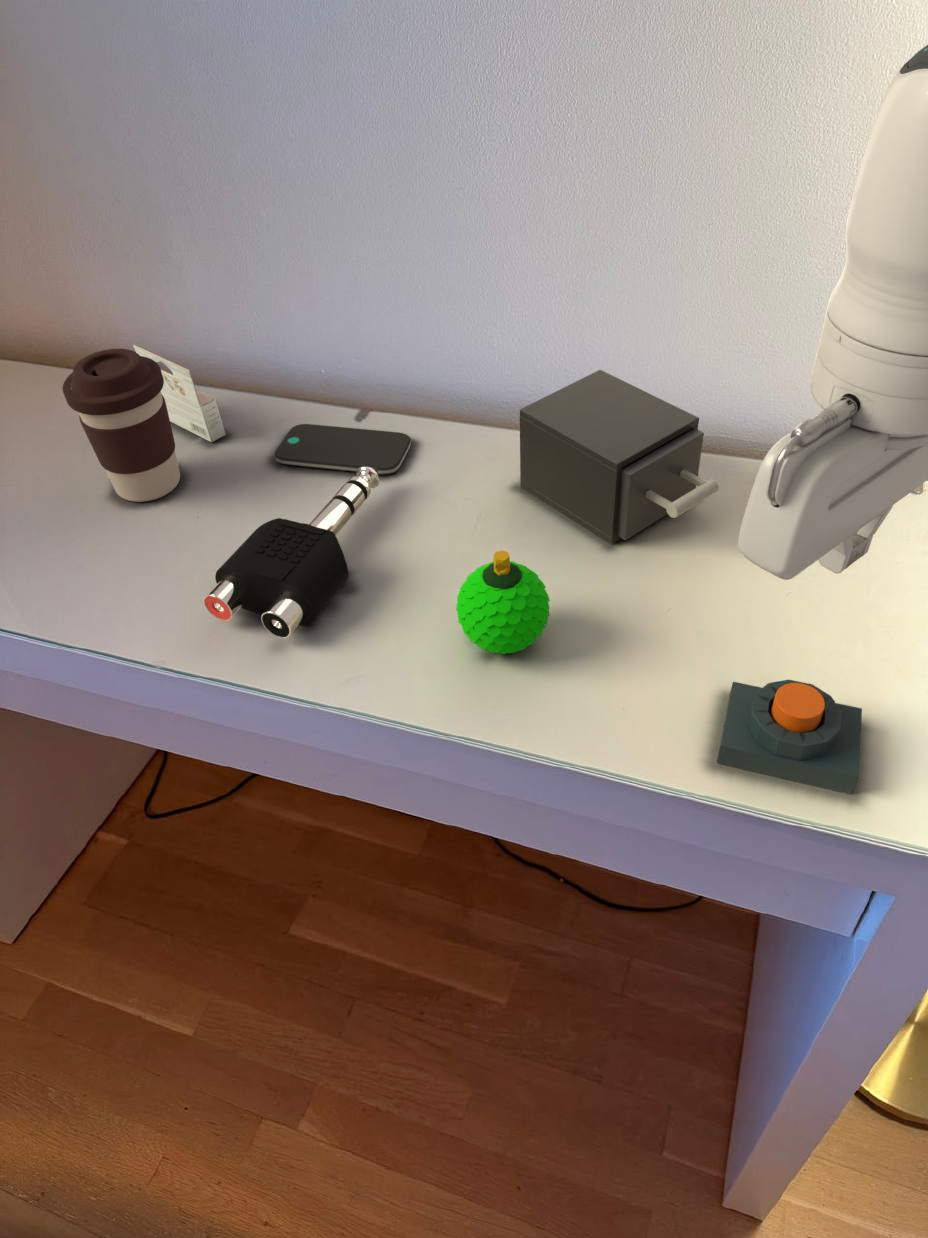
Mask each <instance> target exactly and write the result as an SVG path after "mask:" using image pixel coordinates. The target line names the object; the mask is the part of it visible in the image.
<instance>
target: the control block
mask: <svg viewBox="0 0 928 1238" xmlns="http://www.w3.org/2000/svg"><path fill="white" fill-rule="evenodd" d="M789 683H802V684H806V685H809V686H811V687H813V688H814V689H816V690H817V691H818V692H819V693H820V694H821V695H822V697H823V698H824V701H825V708H824V711H823V714H822V717H821V720H820V723H819V725H818V726H817V727H816V728H815V729H814V730H812V731H810V732H806V733H797V732H792V731H788V730H786V729H784V728H782V727H781V726H779V725H778V724H777V723H776V722H775V720H774V719H773V716H772V712H771V711H772V706H773V702H774V698H775V695H776V692H777V690H778V689H779V688H780V687H782V686H783V685H786V684H789ZM729 692H730V693H729V698H728V703H727V707H726V712H725V717H724V722H723V727H722V732H721V737H720V742H719V747H718V752H717V757H716V764H719V765H723V766H727V767H731V768H732V767H733V768H736V769H740V770H745V771H749V772H753V773H758V774H761V775H767V776H769V777H774V778H779V779H784V780H786V781H787V780H788V781H792V782H797V783H801V784H805V785H808V786H812V787H813V786H814V787H817V788H822V789H825V790H831V791H835V792H839V793H843V794H848V795H852V792H853V790H854V788H855V786H856V784H857V780H858V777H859V763H860V751H861V750H860V749H861V734H862V733H861V732H862V717H863V716H862V715H863V708H861V707H857V706H852V705H848V704H842V703H838V702H836V701H835V700H834V698H833V697H832V695H830V694H828V693H827V692H825V691H823V690H822V689H821V688H819V687H817V686H816V685H814V684H812V683H808V682H803V681H799V680H794V679H793V680H792V679H783V680H777V681H773V682H768V683H766V684H765V685H764V686H763V687H761V686H756V685H751V684H746V683H742V682H737V681H732V685H731V688H730V691H729Z"/></svg>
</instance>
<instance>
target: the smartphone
mask: <svg viewBox="0 0 928 1238" xmlns="http://www.w3.org/2000/svg"><path fill="white" fill-rule="evenodd" d="M411 445H412V440H411V437H410V435H408V434H406V433H403V432H397V431H389V430H377V429H365V428H355V427H344V426H331V425H325V424H324V425H323V424H312V423H301V424H296V425H294V426H292V427H291V428H290V430H289V431H288V432H287V433H286V434H285V436H284V438H283V439H282V441H281V442H280V444H279V445H278V446H277V448H276V449H275V451H274V460H275V462H277V463H279V464H282V465H284V466H285V465H287V466H293V467H294V466H295V467H296V466H297V467H305V468H313V469H314V468H315V469H323V470H333V471H343V472H344V471H345V472H354V473H356V472H357V470H358V469H359V468H360V467H363V466H367V467H377V470H378V475H391V474H394V473H396V472H397V471H398V470H399V468H400V467H401V466H402V464H403V462H404V460H405V458H406V456H407V454H408V452H409V450H410V449H411Z"/></svg>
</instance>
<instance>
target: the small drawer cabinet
mask: <svg viewBox="0 0 928 1238" xmlns="http://www.w3.org/2000/svg"><path fill="white" fill-rule="evenodd" d="M699 424H700V417H698V416H696V415H695V414H692V413H690V412H688V411H686V410H684V409H682V408H680V407H678V406H676V405H673V404H672V403H670V402H668V401H665V400H664V399H661V398H660V397H658V396H655V395H653V394H651V393H650V392H647V391H645V390H643V389H641V388H639V387H637V386H635V385H633V384H631V383H629V382H627V381H624V380H622V379H620V378H619V377H616V376H614V375H612V374H610V373H608V372H606V371H604V370H602V369H598V370H596V371H594V372H591V373H590V374H588V375H586V376H584V377H582V378H580V379H579V380H576V381H574V382H572V383H569V384H568V385H566V386H564V387H561V388H560V389H558V390H556V391H554V392H552V393H550V394H548V395H546V396H544V397H542V398H540V399H538V400H536V401H534V402H532V403H530V404H528V405H526V406H524V407H522V408H520V409H519V469H520V471H519V473H520V475H519V477H520V478H519V479H520V488H521V489H523V490H525V491H526V492H528V494H529V493H530V494H531V495H532V496H534V497H536V498H537V499H539V500H541V501H542V502H544V503H545V504H547V505H549V506H550V507H551V508H553V509H555V510H556V511H558V512H559V513H561V514H562V515H564V516H566V517H567V518H569V519H571V520H572V521H574V522H575V523H577V524H579V525H580V526H582V527H583V528H585V529H586V530H588V531H589V532H591V533H593V534H594V535H596V536H597V537H599V538H600V539H602V540H604V541H605V542H607V543H609V544H610V545H613V544H615V543H616V542H618V541H620V540H622V538H620V537H619V536H617V535H616V534H617V522H618V509H619V496H620V483H621V470H622V469H623V467H625V466H627V465H628V464H630V463H632V462H634V461H635V460H637V459H639V458H641V457H642V456H644V455H646V454H648V453H649V452H651V451H653V450H655V449H656V448H658V447H660V446H662V445H663V444H665V443H667V442H669V441H670V440H672V439H674V438H676V437H677V436H678V437H680V436H682V435H684V434H685V433H687V432H689V431H691V430H692V429H694V428H695V429H697V430H699Z"/></svg>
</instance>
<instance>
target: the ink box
mask: <svg viewBox="0 0 928 1238" xmlns="http://www.w3.org/2000/svg"><path fill="white" fill-rule="evenodd" d="M132 346H133V349H134V351H135V352H136V353H138V354H139V355H140V356H143V357H147V358H150V359H152V360H154V361H155V362H156V363H157V364H159V363H162V364H163V365H164V366H166V368H168V369H169V370H170V371H171V373H170V372H168V371H165V370H163V369H161V372H162V375H163V379H164V385H163V388H162V390H161V394H162V395H163V397H164V399H165V402H166V406H167V411H168V415H169V419H170V423H172V424H174V425H176V426H177V427H180V428H182V429H183V430H186V431H188V432H190V433H192V434H194V435H196V436H197V437H199V438H202V439H203V440H206V441H208V442H209V443H214V442H215V441H217V440H219V439H221V438H223V437H225V436H226V432H225V429H224V425H223V422H222V419H221V415H220V409H219V407H218V404H217V400H216V398H215V397H213V396H211V395H209V394H206V393H205V392H202V391H200V390H198V389H196V386H195V385H196V384H195V381H194V380H193V376H192V373H191V370H190V369H188V368H186V367H183V366H182V365H180V364H177V363H175V362H173V361H171V360H168V359H167V358H164V357H162V356H160V355H158V354H157V353H153V352H151V351H149V350H147V349H144V348H143V347H140V346H138V345H136V344H132Z"/></svg>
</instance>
